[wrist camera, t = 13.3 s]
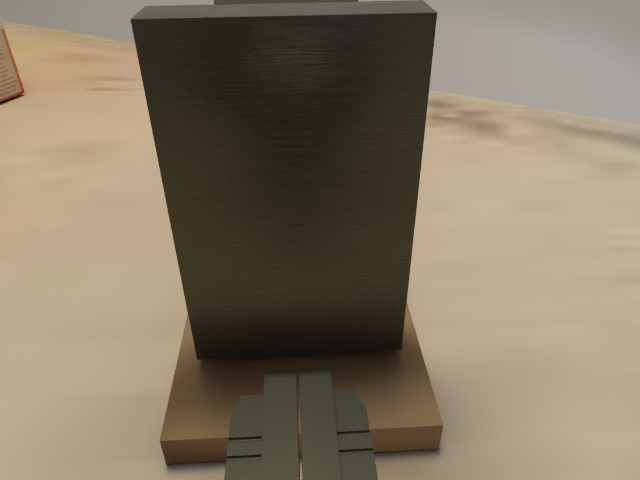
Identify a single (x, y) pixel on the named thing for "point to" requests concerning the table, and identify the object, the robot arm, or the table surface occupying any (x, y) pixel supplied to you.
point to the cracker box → (8, 70)
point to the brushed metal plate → (290, 167)
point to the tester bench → (346, 374)
